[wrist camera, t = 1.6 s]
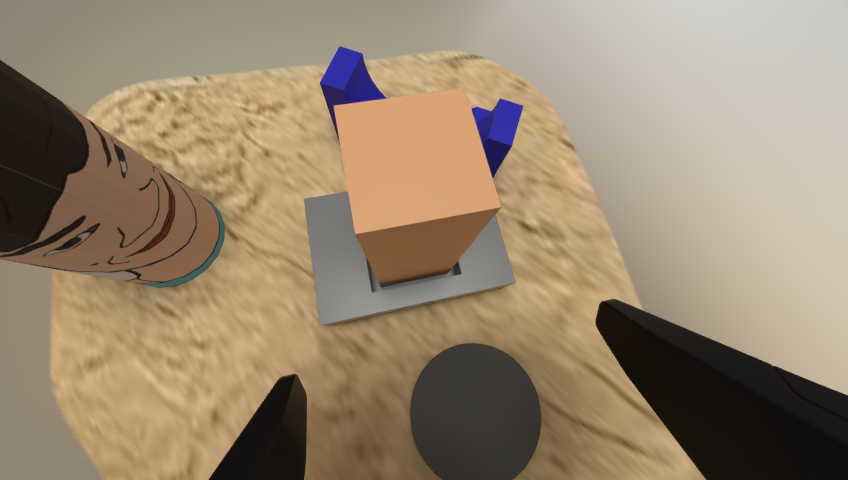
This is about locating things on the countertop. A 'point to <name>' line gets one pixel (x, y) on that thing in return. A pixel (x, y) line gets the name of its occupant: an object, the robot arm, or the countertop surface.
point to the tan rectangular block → (415, 182)
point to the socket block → (356, 282)
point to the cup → (93, 198)
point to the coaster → (475, 414)
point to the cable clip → (355, 85)
